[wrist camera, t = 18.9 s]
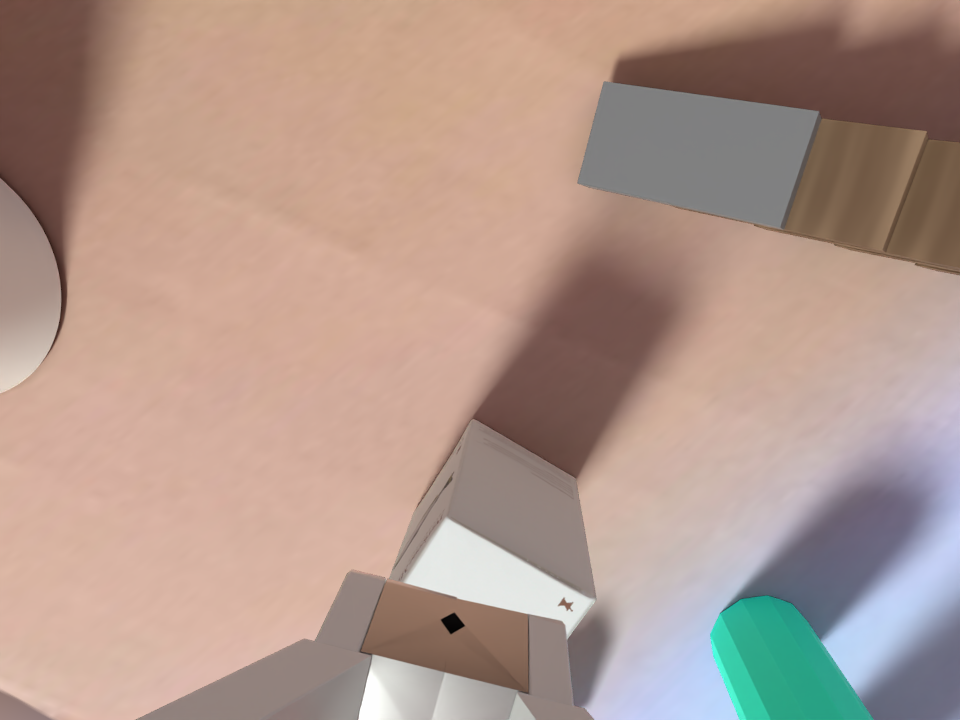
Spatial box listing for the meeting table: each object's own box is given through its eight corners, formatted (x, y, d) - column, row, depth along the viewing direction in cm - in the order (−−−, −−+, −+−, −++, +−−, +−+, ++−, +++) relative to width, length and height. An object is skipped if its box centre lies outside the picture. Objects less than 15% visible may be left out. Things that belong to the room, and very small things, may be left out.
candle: (831, 629, 41) (954, 800, 29) (767, 697, 42) (860, 888, 30) (751, 577, 40) (843, 730, 29) (689, 648, 42) (753, 822, 30)
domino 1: (667, 204, 34) (882, 250, 29) (696, 103, 33) (926, 131, 28) (677, 208, 36) (885, 252, 30) (706, 111, 34) (928, 139, 29)
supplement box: (471, 413, 39) (448, 510, 27) (579, 478, 39) (604, 602, 27) (408, 511, 41) (359, 645, 28) (513, 572, 41) (508, 730, 29)
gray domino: (577, 183, 34) (780, 227, 30) (603, 81, 33) (819, 111, 29) (588, 187, 36) (784, 230, 31) (614, 89, 35) (821, 119, 30)
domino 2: (753, 225, 34) (981, 272, 28) (786, 125, 33) (1032, 149, 27) (766, 229, 36) (988, 275, 29) (798, 133, 34) (1037, 157, 28)
